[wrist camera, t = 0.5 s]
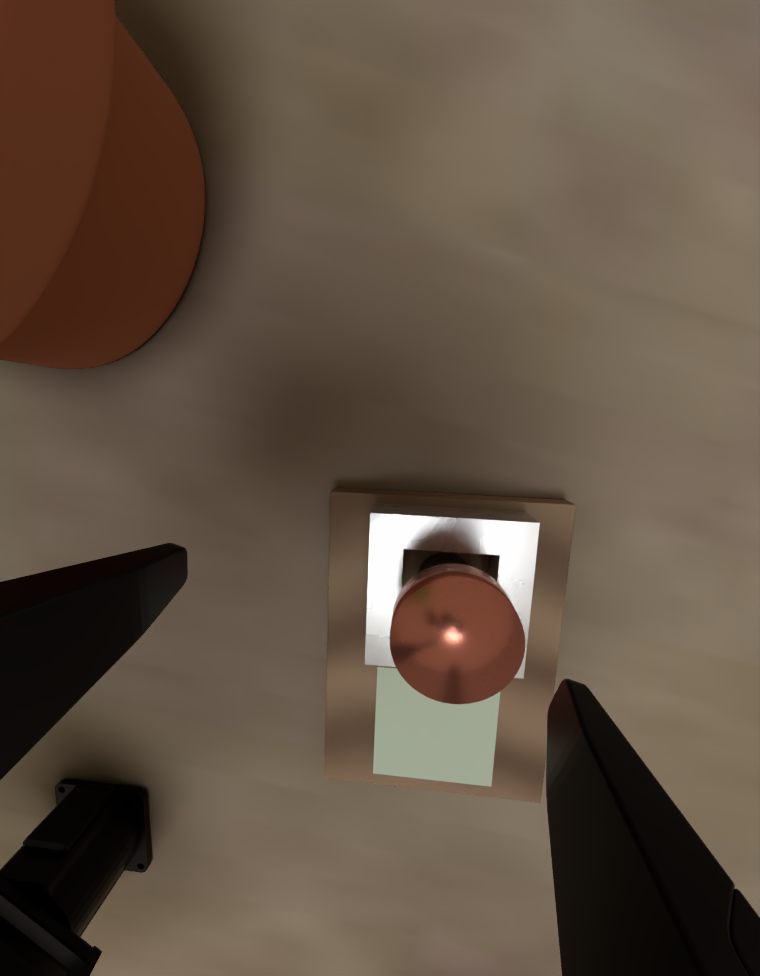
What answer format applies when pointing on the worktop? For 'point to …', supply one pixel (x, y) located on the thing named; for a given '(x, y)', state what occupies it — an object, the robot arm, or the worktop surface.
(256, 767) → the worktop surface
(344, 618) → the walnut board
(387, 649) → the block
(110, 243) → the potted cactus
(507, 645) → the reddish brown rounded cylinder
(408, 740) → the rubber pad
